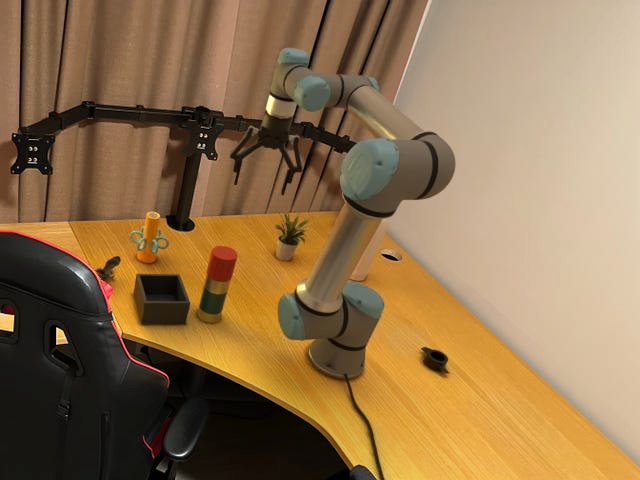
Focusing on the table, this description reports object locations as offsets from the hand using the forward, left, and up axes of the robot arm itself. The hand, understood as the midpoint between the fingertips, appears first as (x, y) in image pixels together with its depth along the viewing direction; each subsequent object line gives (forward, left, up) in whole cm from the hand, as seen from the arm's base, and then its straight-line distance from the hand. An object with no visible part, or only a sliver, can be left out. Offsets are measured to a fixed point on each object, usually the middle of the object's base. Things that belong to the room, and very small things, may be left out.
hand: (259, 188), depth 180 cm
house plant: (+11, -19, -29) cm, 36 cm away
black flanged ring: (-43, -47, -29) cm, 70 cm away
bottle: (+1, -42, -29) cm, 51 cm away
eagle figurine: (-3, +41, -29) cm, 51 cm away
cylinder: (+8, +27, -29) cm, 41 cm away
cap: (-21, +14, -15) cm, 30 cm away
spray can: (-21, +14, -29) cm, 39 cm away
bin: (-18, +28, -29) cm, 45 cm away
